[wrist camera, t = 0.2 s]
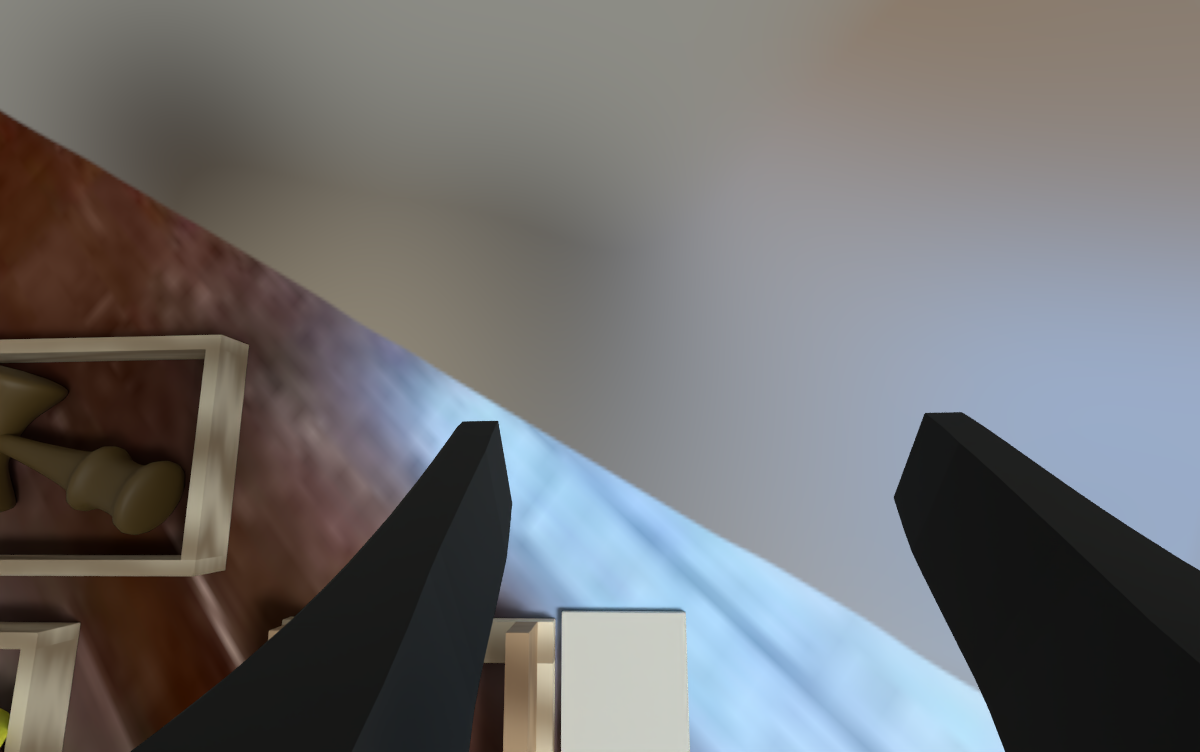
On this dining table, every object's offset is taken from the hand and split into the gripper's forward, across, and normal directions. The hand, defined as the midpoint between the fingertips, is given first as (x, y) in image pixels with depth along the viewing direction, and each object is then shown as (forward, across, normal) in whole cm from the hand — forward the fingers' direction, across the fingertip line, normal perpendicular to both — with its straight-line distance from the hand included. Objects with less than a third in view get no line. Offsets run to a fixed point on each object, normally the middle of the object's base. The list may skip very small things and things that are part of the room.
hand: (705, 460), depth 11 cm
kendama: (+24, +42, +22) cm, 53 cm away
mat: (+12, +1, +32) cm, 34 cm away
